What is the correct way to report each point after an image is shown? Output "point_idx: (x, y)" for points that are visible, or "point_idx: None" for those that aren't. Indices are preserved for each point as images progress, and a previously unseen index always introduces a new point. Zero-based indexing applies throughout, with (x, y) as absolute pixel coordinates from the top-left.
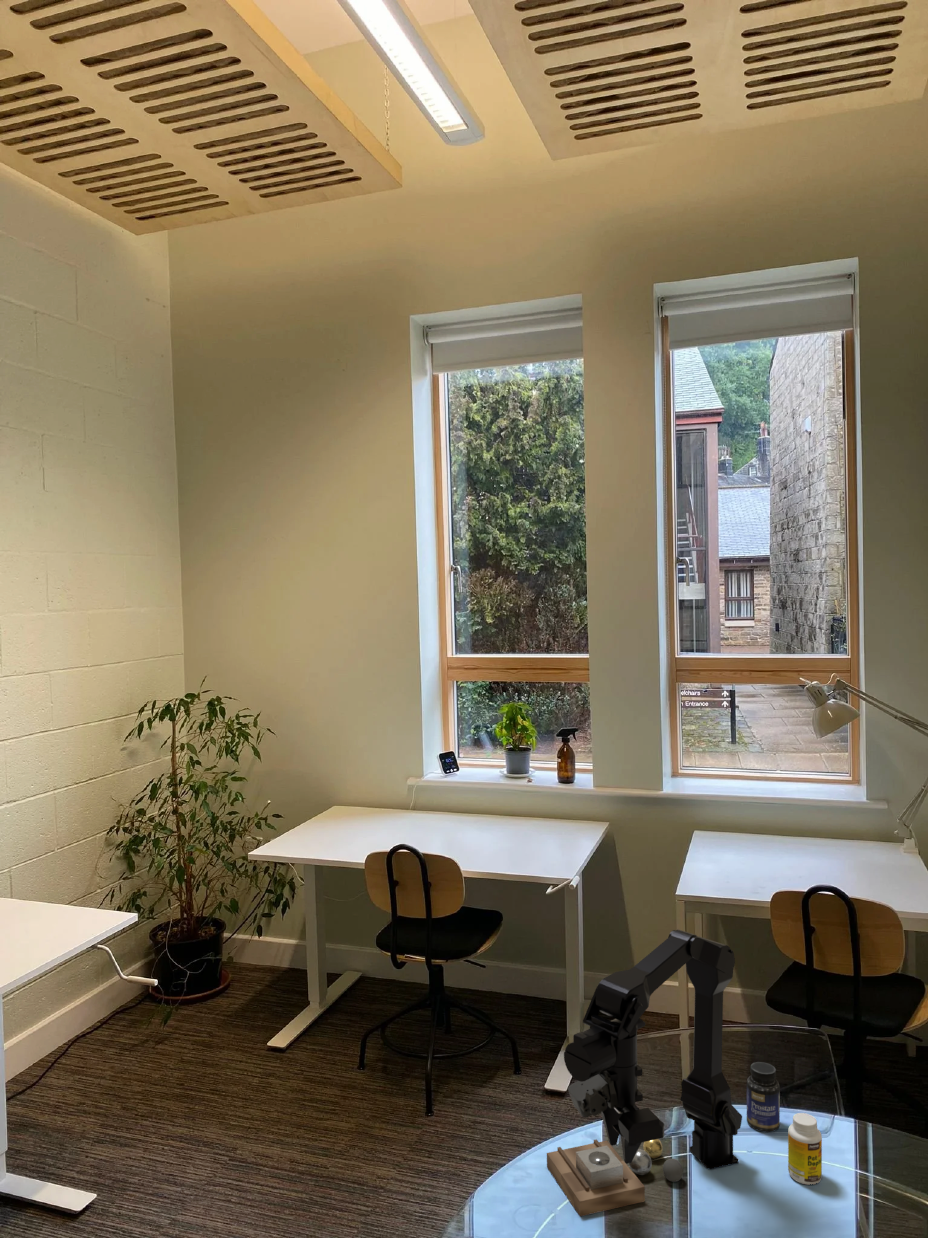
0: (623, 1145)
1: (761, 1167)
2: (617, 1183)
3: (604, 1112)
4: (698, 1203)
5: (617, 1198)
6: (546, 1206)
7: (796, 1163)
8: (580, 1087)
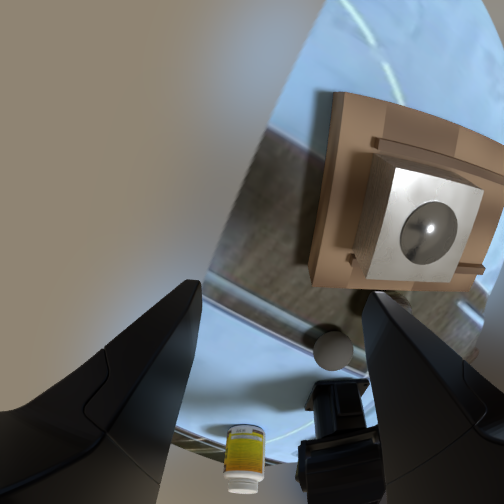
0: (109, 360)
1: (284, 417)
2: (357, 235)
3: (481, 447)
4: (255, 339)
5: (323, 208)
6: (402, 46)
7: (238, 445)
8: None
